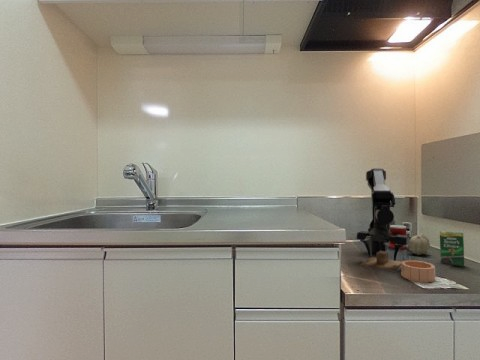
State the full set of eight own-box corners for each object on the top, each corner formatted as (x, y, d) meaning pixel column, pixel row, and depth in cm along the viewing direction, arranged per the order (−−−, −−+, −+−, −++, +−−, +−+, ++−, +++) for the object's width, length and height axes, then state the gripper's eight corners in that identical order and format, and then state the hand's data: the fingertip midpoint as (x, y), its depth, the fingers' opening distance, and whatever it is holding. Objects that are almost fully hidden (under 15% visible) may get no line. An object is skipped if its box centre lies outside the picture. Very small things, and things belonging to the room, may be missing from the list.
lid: (362, 265, 120) (361, 253, 120) (371, 258, 129) (371, 247, 129) (394, 271, 112) (394, 258, 112) (402, 263, 121) (402, 251, 121)
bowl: (398, 279, 105) (398, 265, 105) (405, 272, 112) (405, 258, 112) (432, 285, 98) (431, 270, 98) (437, 277, 106) (436, 263, 106)
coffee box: (439, 263, 122) (439, 231, 122) (440, 262, 124) (440, 230, 124) (464, 267, 117) (463, 234, 117) (464, 265, 119) (464, 232, 119)
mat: (358, 266, 120) (358, 265, 120) (370, 259, 130) (370, 257, 130) (396, 273, 111) (396, 272, 110) (406, 265, 121) (406, 263, 121)
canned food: (404, 246, 152) (404, 225, 152) (408, 250, 144) (407, 227, 144) (388, 245, 154) (388, 224, 154) (390, 249, 147) (390, 227, 147)
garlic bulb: (427, 253, 139) (427, 231, 139) (435, 257, 131) (434, 235, 131) (405, 252, 141) (405, 231, 141) (411, 256, 133) (410, 234, 133)
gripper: (351, 220, 120) (351, 259, 121) (402, 225, 108) (403, 268, 108) (361, 217, 129) (361, 253, 129) (409, 221, 116) (410, 261, 117)
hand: (382, 258), depth 120 cm, fingers open, 9 cm apart
